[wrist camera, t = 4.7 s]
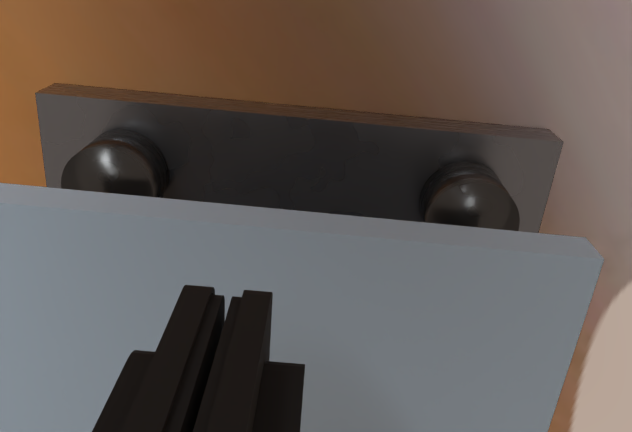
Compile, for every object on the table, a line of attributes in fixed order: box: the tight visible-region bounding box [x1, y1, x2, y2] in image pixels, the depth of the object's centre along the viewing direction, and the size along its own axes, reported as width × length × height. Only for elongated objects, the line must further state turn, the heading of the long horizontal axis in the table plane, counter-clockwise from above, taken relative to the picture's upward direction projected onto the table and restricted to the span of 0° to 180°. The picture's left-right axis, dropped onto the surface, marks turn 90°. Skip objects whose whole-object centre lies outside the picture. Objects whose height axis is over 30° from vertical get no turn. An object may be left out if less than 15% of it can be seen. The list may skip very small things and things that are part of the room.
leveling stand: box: [35, 83, 563, 233], centre depth 23 cm, size 21×18×6 cm
